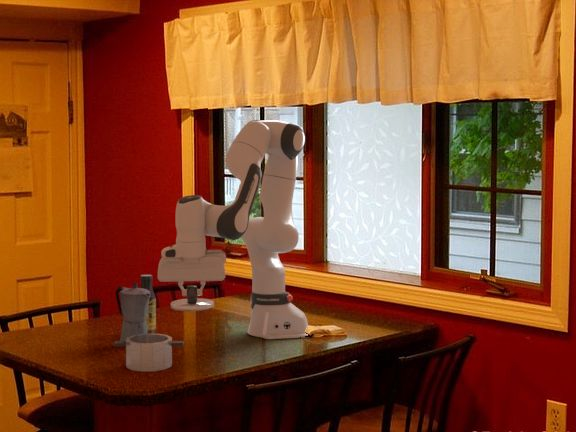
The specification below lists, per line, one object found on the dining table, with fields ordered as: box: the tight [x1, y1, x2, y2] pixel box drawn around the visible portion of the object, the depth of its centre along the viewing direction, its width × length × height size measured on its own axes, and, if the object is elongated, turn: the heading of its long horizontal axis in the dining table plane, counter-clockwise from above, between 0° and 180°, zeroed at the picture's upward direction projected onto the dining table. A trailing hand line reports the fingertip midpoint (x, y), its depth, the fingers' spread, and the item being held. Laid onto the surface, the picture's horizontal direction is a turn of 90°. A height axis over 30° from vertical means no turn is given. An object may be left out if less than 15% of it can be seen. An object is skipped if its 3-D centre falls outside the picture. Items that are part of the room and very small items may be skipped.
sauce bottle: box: [139, 274, 157, 334], centre depth 316 cm, size 6×6×20 cm
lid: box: [170, 284, 215, 312], centre depth 283 cm, size 13×13×6 cm
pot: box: [113, 333, 185, 372], centre depth 276 cm, size 20×13×8 cm, turn 93°
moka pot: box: [115, 282, 151, 341], centre depth 301 cm, size 10×15×20 cm, turn 58°
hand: (192, 295), depth 283 cm, fingers closed on lid, 3 cm apart
